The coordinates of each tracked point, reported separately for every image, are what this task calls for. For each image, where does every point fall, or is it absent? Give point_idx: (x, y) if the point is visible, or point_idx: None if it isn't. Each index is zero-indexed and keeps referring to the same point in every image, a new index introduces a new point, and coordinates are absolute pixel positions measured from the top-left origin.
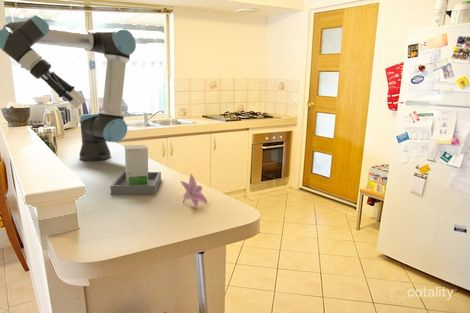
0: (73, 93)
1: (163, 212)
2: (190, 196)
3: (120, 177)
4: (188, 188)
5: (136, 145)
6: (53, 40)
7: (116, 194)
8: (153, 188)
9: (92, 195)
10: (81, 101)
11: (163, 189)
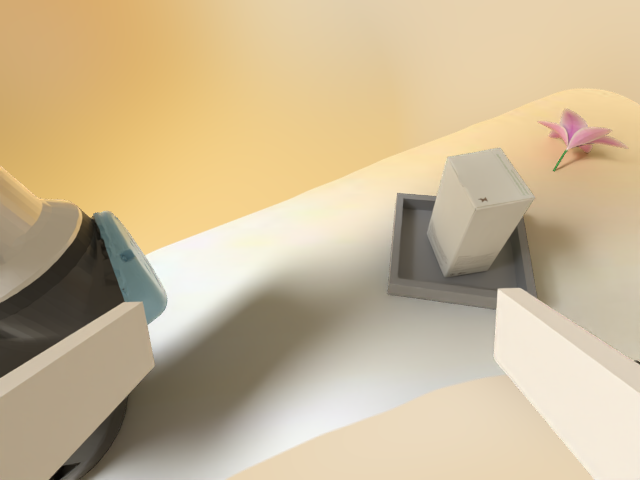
0: (7, 458)
1: (622, 201)
2: (595, 141)
3: (446, 284)
4: (583, 134)
5: (469, 176)
6: None
7: None
8: None
9: None
10: (135, 358)
11: None
